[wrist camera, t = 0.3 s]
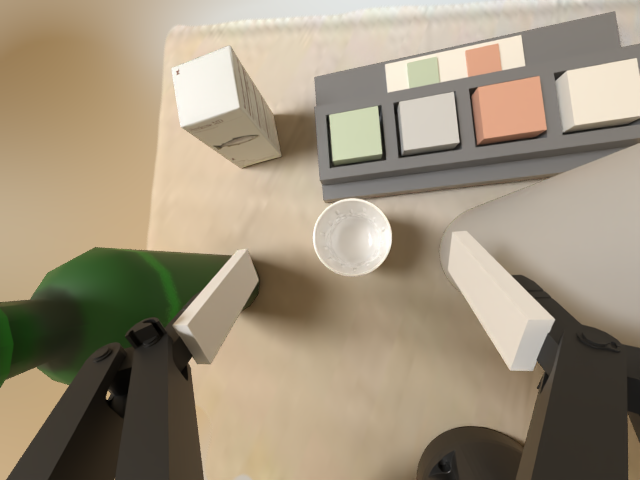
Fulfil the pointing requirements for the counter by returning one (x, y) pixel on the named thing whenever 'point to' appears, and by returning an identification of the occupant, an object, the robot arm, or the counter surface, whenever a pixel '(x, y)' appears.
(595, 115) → the key white
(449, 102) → the key grey
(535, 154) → the key pad
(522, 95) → the key terracotta
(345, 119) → the key sage
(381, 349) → the counter surface
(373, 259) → the white cup
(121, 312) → the bottle
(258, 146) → the supplement box
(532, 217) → the cylinder vase
